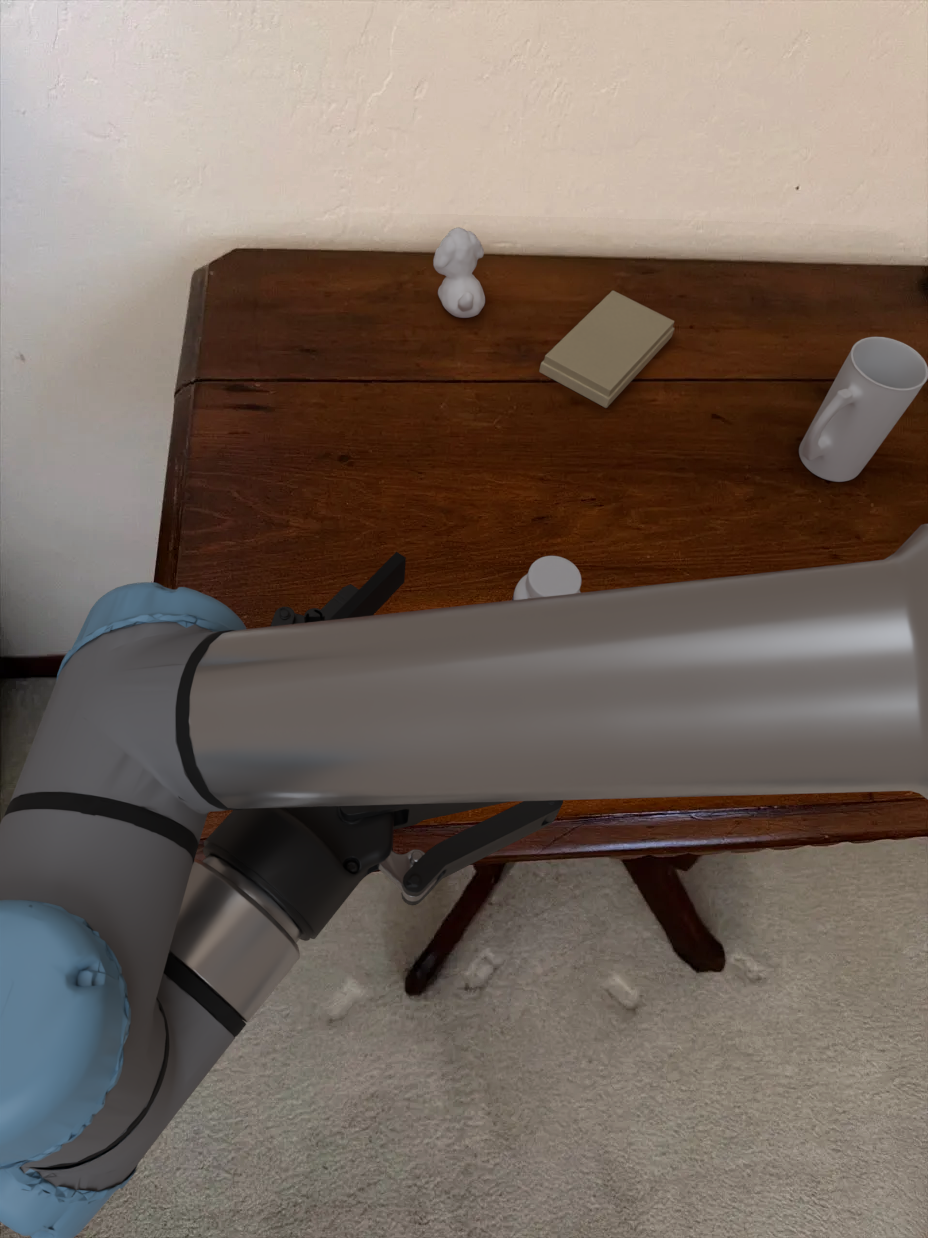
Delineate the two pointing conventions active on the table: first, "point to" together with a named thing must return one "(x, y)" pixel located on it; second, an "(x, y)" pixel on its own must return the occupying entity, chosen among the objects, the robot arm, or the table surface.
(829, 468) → the mug
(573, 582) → the pill bottle
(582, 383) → the beige stepped flat slab
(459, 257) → the figurine
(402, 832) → the table surface
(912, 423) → the table surface
